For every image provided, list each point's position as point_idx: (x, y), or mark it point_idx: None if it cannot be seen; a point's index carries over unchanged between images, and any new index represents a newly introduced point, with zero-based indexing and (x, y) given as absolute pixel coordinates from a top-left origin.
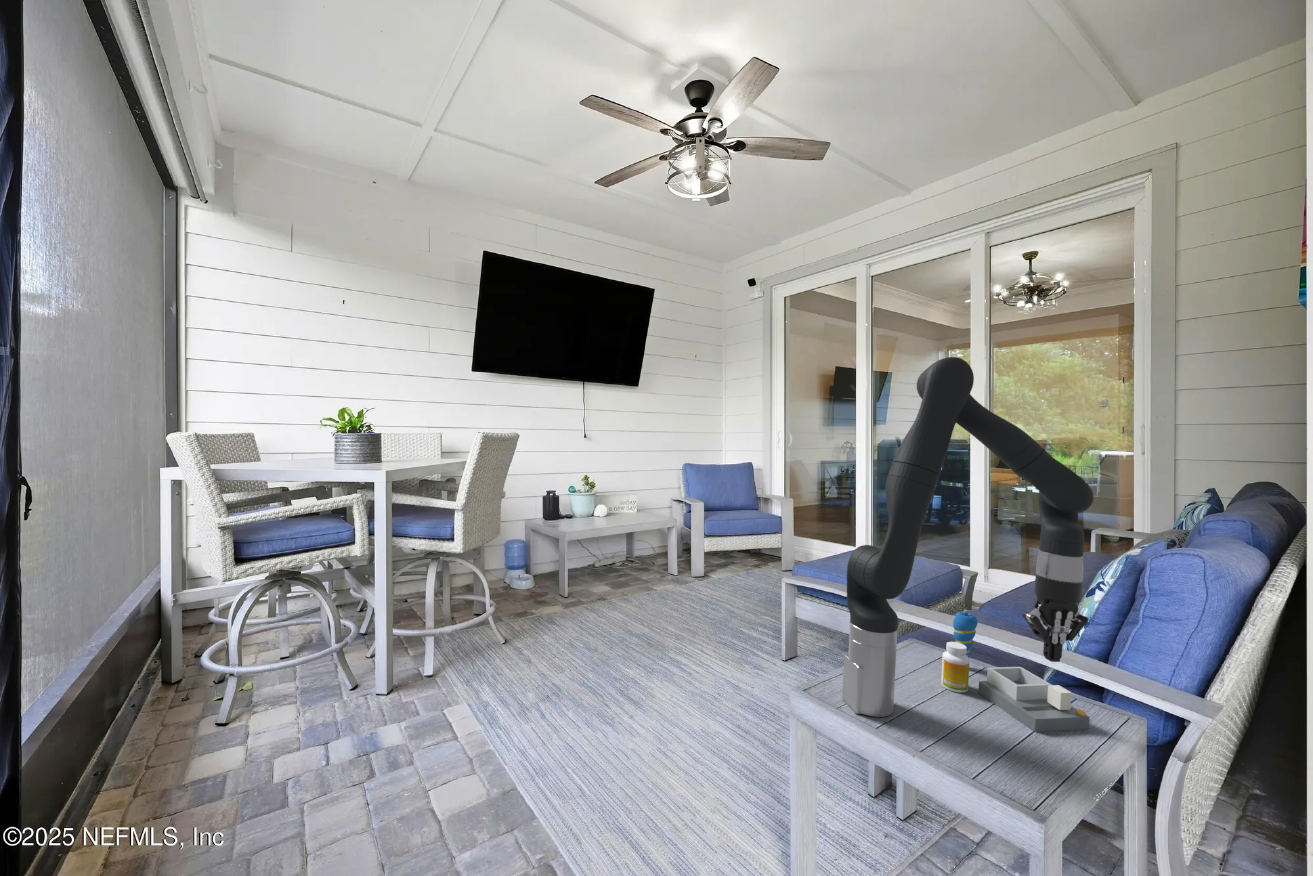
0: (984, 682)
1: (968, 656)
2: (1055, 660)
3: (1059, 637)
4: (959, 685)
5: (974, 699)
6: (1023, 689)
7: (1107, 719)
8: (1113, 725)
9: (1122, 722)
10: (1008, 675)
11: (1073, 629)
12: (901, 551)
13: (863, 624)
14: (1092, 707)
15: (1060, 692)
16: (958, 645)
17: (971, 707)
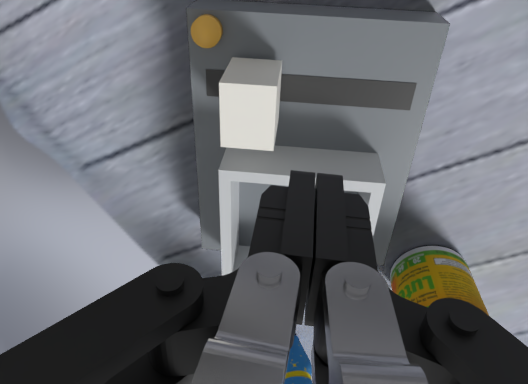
0: None
1: (290, 360)
2: (327, 175)
3: (292, 312)
4: (454, 263)
5: (434, 212)
6: (352, 173)
7: (71, 45)
8: (78, 7)
9: (28, 20)
10: None
11: (100, 372)
12: None
13: None
14: (67, 117)
15: (275, 90)
16: None
17: (498, 178)
